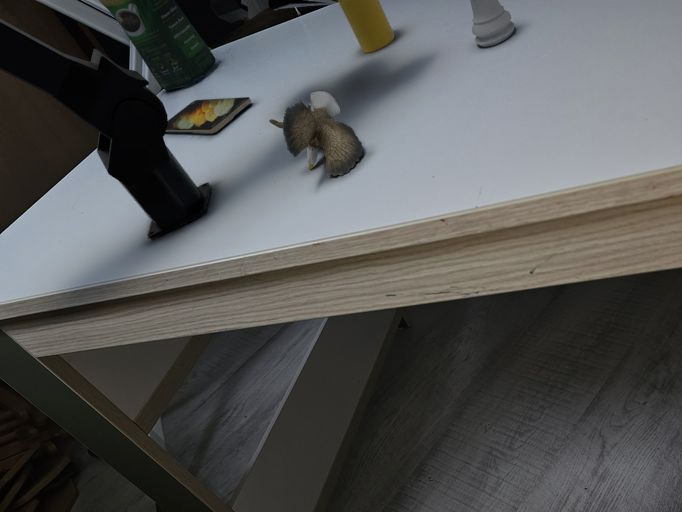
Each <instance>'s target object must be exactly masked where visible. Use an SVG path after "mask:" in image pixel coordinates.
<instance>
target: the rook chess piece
mask: <svg viewBox="0 0 682 512" xmlns="http://www.w3.org/2000/svg"><path fill="white" fill-rule="evenodd" d="M469 2H470V6H471V11H472V26H471V32H472V35H474V36H475V37H474V43H475V44H477V45H479V46H480V47H482V48H483V47H484V48H486V47H493V46H495V45H498V44H501V43H502V42H504V41H505V40H507V39H508V38H510V37H511V36H512V34H513V33H514V30H515V26H516V24H515V22H513V21H511V20H512V14H511V13H510V12H509V11H508V10H506V9H505V7H504V6H503V5H502V4H501V2H499V0H469Z"/></svg>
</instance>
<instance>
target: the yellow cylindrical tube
mask: <svg viewBox="0 0 682 512" xmlns="http://www.w3.org/2000/svg"><path fill="white" fill-rule="evenodd" d="M337 3H338V4H339V5H340V8H341V10H342V12H343V15H344V16H345V18H346V20H347V22H348V24H349V27H350V28H351V31H352V32H353V34H354V36H355V38H356V40H357V42H358V44H359V47H360V48H361V51H362V52H363V53H365V54H369V53H373V52H377V51H378V50H381V49H383V48H384V47H387V45H389V44H390V43H392V41H393V40H394V39H395V37H396V36H395V35H396V34H395V33H394V31H393V28H392V26H391V23H390V22H389V19H388V17H387V15H386V13H385V10H384V9H383V6H382V4H381V2H380V0H338V2H337Z"/></svg>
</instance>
